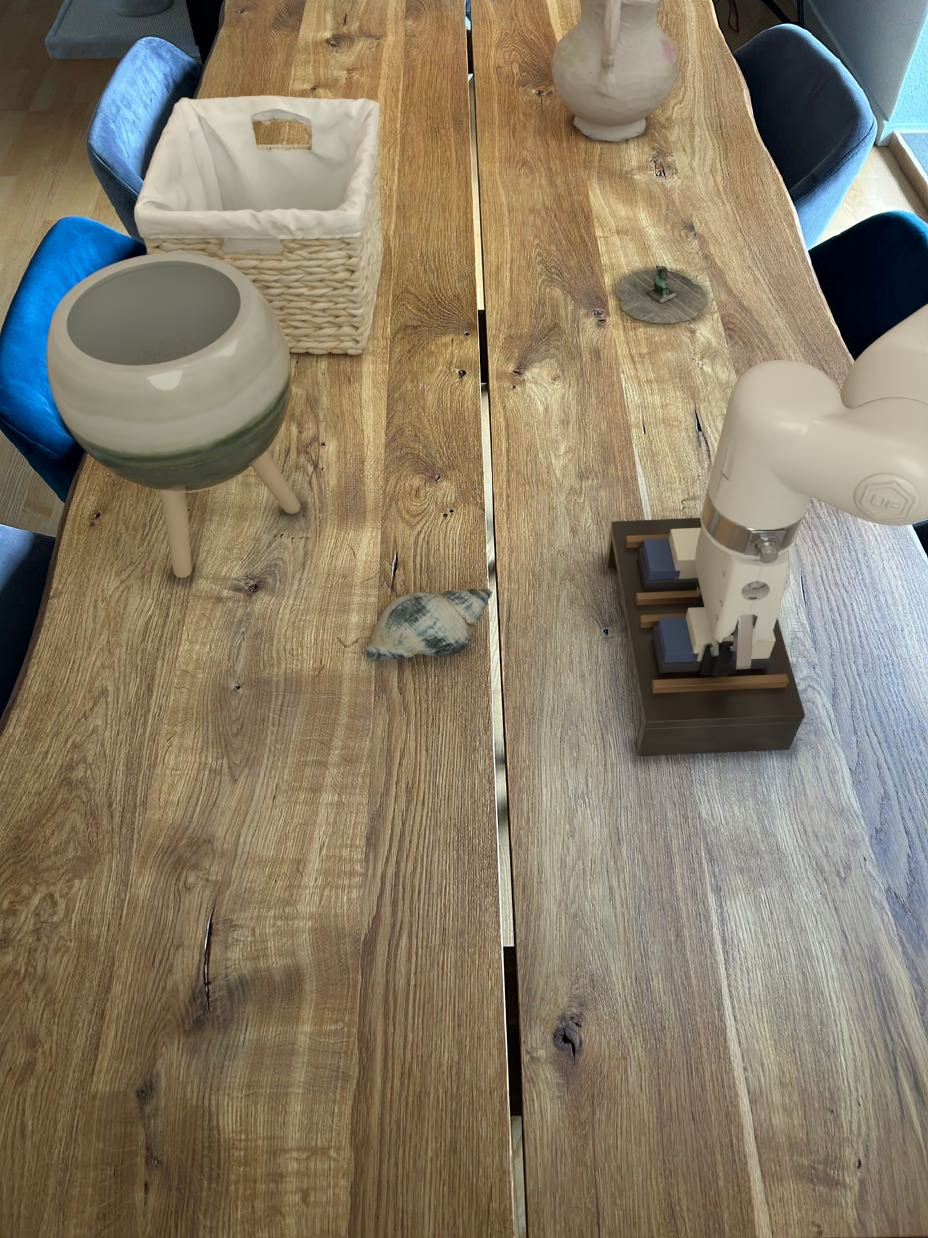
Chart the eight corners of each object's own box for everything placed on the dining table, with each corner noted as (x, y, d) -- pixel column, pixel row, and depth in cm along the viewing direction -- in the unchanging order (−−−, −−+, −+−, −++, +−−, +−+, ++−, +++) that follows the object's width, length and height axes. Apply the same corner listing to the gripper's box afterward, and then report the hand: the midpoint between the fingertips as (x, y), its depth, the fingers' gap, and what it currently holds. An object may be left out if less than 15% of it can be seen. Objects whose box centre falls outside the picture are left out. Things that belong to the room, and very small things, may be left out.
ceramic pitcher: (673, 166, 158) (714, -9, 139) (549, 160, 157) (572, -17, 138) (655, 100, 172) (689, -69, 152) (540, 94, 170) (560, -76, 151)
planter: (147, 450, 120) (69, 237, 98) (332, 454, 119) (295, 240, 97) (95, 596, 107) (-9, 387, 84) (303, 602, 105) (253, 392, 83)
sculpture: (631, 264, 141) (674, 232, 135) (672, 314, 144) (716, 284, 138) (602, 307, 134) (646, 275, 128) (646, 359, 137) (691, 329, 131)
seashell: (376, 629, 105) (492, 636, 104) (362, 665, 98) (485, 674, 97) (374, 573, 102) (493, 580, 101) (359, 607, 95) (486, 615, 94)
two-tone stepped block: (738, 551, 100) (746, 523, 97) (747, 586, 98) (756, 559, 95) (637, 555, 100) (642, 528, 97) (644, 590, 98) (649, 563, 94)
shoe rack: (736, 553, 108) (750, 508, 103) (789, 749, 94) (808, 709, 88) (606, 559, 108) (612, 514, 102) (638, 756, 93) (647, 716, 88)
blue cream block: (759, 628, 94) (768, 601, 91) (769, 668, 91) (780, 642, 88) (651, 633, 94) (657, 606, 91) (659, 673, 91) (665, 647, 88)
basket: (379, 367, 128) (362, 208, 111) (170, 366, 129) (121, 208, 112) (395, 246, 145) (382, 90, 127) (209, 245, 146) (172, 91, 128)
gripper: (829, 594, 73) (772, 727, 87) (776, 434, 83) (733, 576, 98) (725, 598, 73) (686, 730, 87) (685, 438, 83) (655, 580, 98)
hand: (711, 648), depth 92 cm, fingers closed on blue cream block, 4 cm apart
